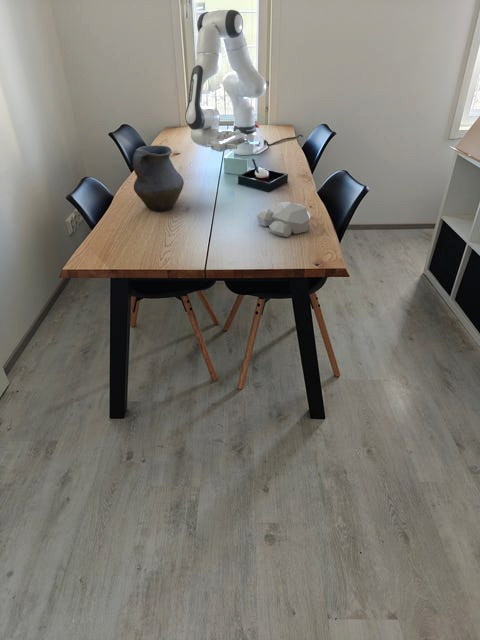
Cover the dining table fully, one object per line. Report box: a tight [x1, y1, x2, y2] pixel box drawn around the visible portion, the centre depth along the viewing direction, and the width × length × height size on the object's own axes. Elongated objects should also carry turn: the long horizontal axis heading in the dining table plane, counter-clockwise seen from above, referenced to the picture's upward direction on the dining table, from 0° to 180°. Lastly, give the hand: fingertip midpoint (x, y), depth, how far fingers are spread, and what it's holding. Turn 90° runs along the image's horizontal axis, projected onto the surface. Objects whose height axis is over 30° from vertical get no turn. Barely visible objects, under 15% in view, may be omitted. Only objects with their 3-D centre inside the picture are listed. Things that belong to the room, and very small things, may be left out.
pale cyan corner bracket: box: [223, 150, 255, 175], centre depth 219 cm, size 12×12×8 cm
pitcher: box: [132, 145, 185, 212], centre depth 176 cm, size 21×22×25 cm
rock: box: [256, 200, 311, 238], centre depth 165 cm, size 18×20×10 cm
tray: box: [237, 166, 289, 193], centre depth 205 cm, size 16×18×4 cm
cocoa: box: [251, 158, 270, 182], centre depth 201 cm, size 10×6×12 cm, turn 102°
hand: (242, 144), depth 203 cm, fingers open, 8 cm apart
